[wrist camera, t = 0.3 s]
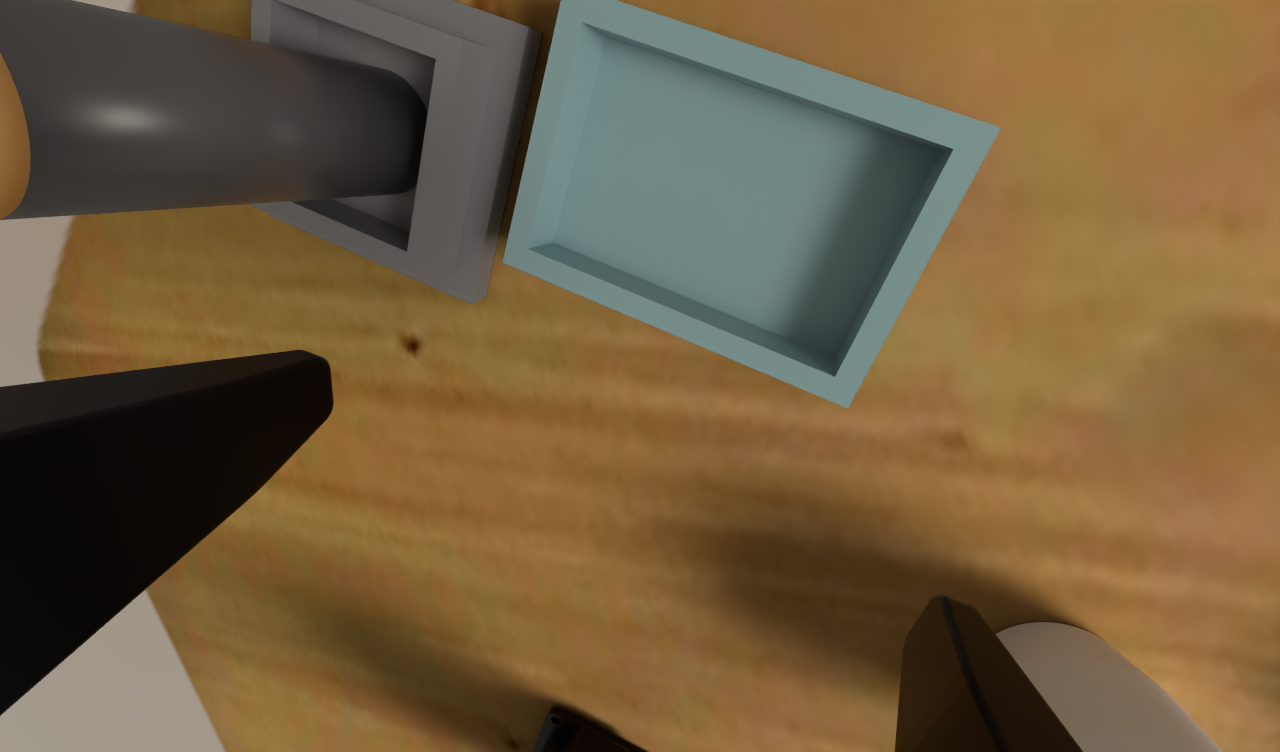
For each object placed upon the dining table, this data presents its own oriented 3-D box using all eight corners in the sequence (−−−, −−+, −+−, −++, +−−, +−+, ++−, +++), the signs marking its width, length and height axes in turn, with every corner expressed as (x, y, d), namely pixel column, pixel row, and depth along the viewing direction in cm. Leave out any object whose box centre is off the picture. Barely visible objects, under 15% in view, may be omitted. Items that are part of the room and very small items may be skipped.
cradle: (485, 299, 24) (441, 316, 21) (288, 213, 25) (225, 219, 23) (542, 33, 20) (497, 12, 17) (304, -50, 21) (228, -81, 19)
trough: (845, 381, 21) (847, 408, 18) (536, 252, 23) (502, 262, 20) (977, 133, 17) (1001, 127, 15) (597, 5, 19) (564, -17, 17)
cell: (422, 211, 22) (-69, 265, 10) (329, 172, 23) (-238, 178, 11) (441, 90, 21) (-129, -22, 8) (339, 51, 21) (-327, -105, 9)
